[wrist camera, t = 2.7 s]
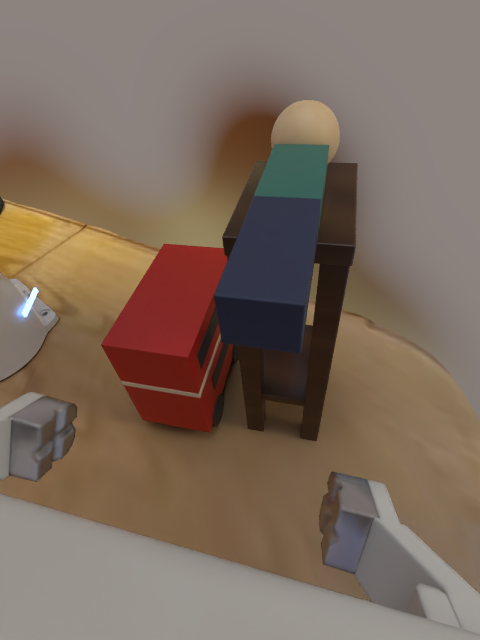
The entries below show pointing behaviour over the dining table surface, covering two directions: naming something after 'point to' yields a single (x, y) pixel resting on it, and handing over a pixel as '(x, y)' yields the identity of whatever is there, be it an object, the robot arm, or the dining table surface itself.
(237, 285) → the toy man
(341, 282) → the stand
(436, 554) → the robot arm
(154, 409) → the toy bus
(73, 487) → the dining table surface
